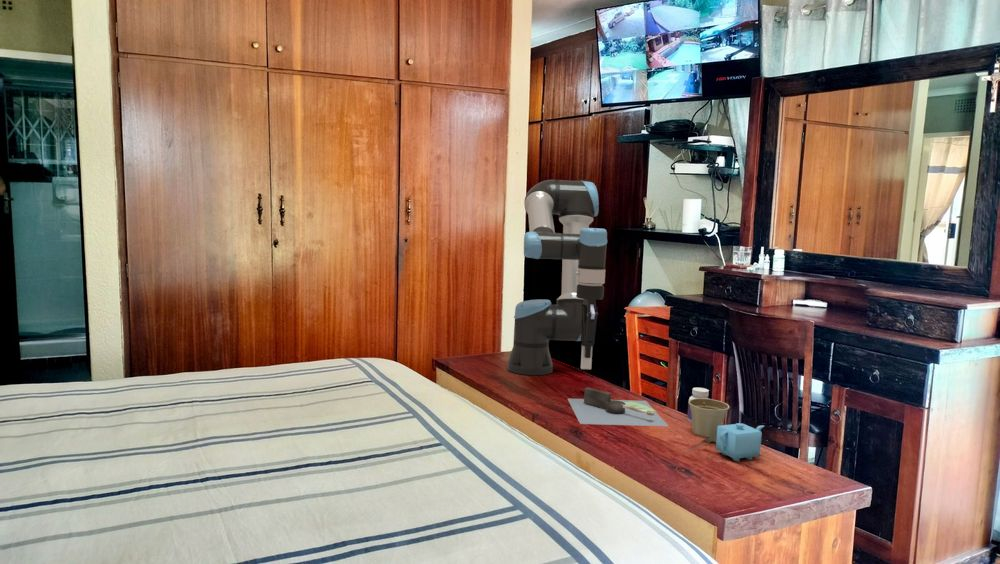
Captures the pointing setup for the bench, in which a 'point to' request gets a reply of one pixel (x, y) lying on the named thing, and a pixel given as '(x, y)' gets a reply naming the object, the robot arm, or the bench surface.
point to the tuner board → (616, 414)
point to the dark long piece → (608, 402)
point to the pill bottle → (696, 394)
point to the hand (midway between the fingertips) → (585, 368)
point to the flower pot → (707, 417)
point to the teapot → (739, 441)
